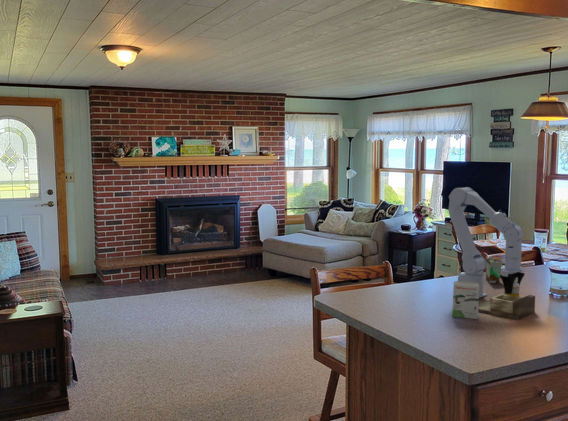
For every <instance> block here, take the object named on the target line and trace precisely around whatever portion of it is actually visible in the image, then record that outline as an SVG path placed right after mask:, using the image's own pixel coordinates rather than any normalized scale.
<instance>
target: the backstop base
mask: <svg viewBox="0 0 568 421" xmlns="http://www.w3.org/2000/svg"><path fill="white" fill-rule="evenodd" d="M535 309H536V295H532V294H528V295H527V296H523V297H521V299H518V300H516V301H514V302H513V314H512V313H507V312H502V311H497V310H492V309H490V300H487V299H481V300H479V304H478V313H479V312H480V313H484V314H487V315H492V316H498V317H502V318H507V319H513V320H517V321H518V320H521V319H523V318H525V317H527V316H529V315H532V314H533V313H534V314H535Z"/></svg>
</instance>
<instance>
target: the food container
mask: <svg viewBox="0 0 568 421" xmlns="http://www.w3.org/2000/svg"><path fill="white" fill-rule="evenodd" d="M485 260H486V268H485V280H486V281H487V282H488V284H491V285H493V284H494V285H495V284H500V282H501V281H500V279H501V278H500V275H501V274H502V267H504V265H503V261H502V259H497V258H491V257H490V258H489V257H486V258H485Z"/></svg>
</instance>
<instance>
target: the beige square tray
mask: <svg viewBox="0 0 568 421" xmlns="http://www.w3.org/2000/svg"><path fill="white" fill-rule="evenodd" d="M521 298H522V297H521V296H519V297H516V296H510V295H504V293H500V294H498V295H494V296H492V297H490V299H489V301H490V309H492V310H497V311H502V312H507V313H512V314H513V302H514V301H516V300H518V299H521Z"/></svg>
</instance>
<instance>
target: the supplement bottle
mask: <svg viewBox="0 0 568 421" xmlns="http://www.w3.org/2000/svg"><path fill="white" fill-rule="evenodd" d="M517 282H518V278H517V277H516V279H515V281H514V284H513V289H512V293H511V294H508V293H505V289H504V292H503V294H504V295H510V296H516V297H520V286H521V284H520V285H519V283H517Z"/></svg>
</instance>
